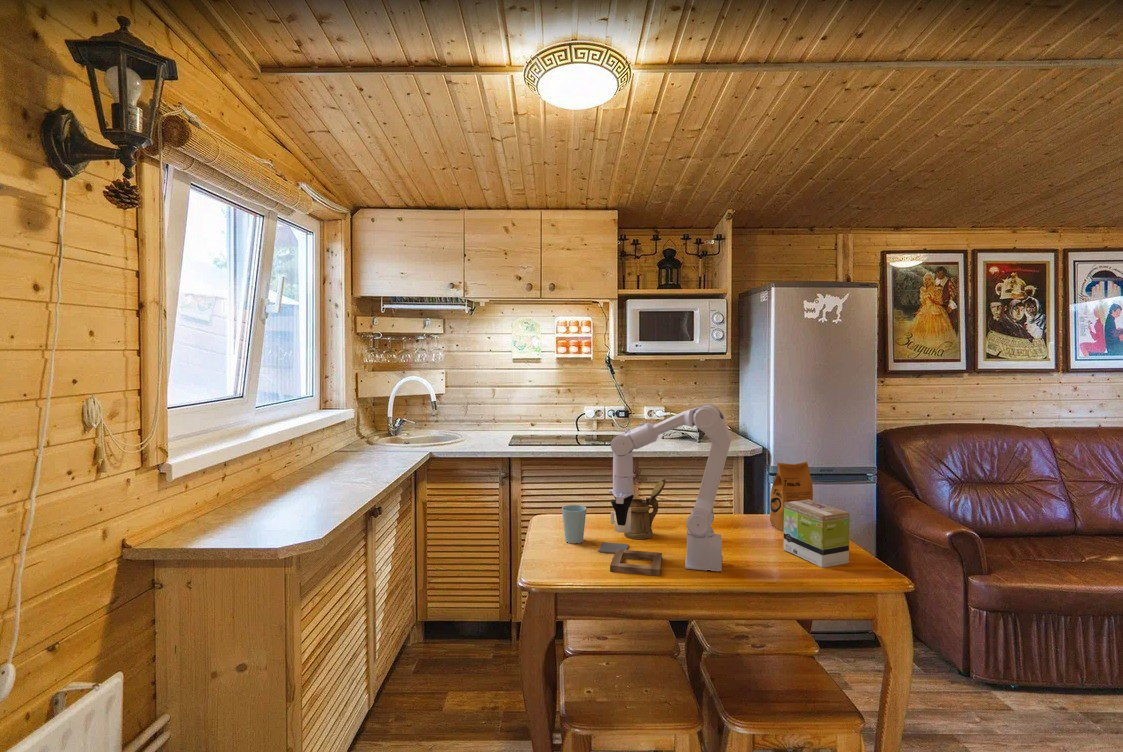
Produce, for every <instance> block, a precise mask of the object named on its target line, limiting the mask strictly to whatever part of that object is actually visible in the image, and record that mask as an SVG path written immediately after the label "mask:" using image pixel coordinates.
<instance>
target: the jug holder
mask: <svg viewBox="0 0 1123 752" xmlns="http://www.w3.org/2000/svg"><path fill="white" fill-rule="evenodd" d="M630 558H632V560H642V559H647V560H646V561H652V563H651V565H644V564H642V565H641V564H633V563H632V564H631V563H630V564H629V563H622V562H623V560H624V559H630ZM662 560H663V552H657V551H643V550H633V549H631V550H630V549H627V550H620V549H616V552H615V554H613V557H612V560H611V562H610V565H609V572H610V573H611V572H612V573H622V574H623V573H625V574H634V575H635V574H636V575H645V576H655V577H656V576H657V577H659V576H660V573H661V568H662Z"/></svg>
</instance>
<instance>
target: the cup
mask: <svg viewBox="0 0 1123 752" xmlns="http://www.w3.org/2000/svg"><path fill="white" fill-rule="evenodd" d="M561 512H562V522H563V530H564V531H563V532H564V540H565V542H566V543H567V542H568V544H570V543H578V544H582V543H583V541H584V534H585V525H586V524H585V523H586V516H587V507H586V506H584V505H580V504H568V505H564V506H562V507H561ZM581 542H582V543H581Z"/></svg>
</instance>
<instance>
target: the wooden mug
mask: <svg viewBox="0 0 1123 752" xmlns="http://www.w3.org/2000/svg"><path fill="white" fill-rule="evenodd" d="M666 482H667V481H666V478H663V479H662V480H660V481H659V482H658V481H657V483H656V484H655V486H654V487H653V489H652V490H651V494H650V495H651V496H649V497H646V498H645V499H644V498H633V499H632V501H631V504H630V508H631V531H630V532H627V533H623V535H624V536H625V537H626V536H627V537H626V538H628V537H629V539H631V538H633V539H632V540H646V539H645V538H648V539H650V538H652V537H653V533H654V532H653V528H652V526H653V522H654V519H655V517H656V516H657V514H658V511H659V501H658V499H657V497H658V496H659V495H660V494H661V492H662V491H663V490H664V488H665V485H666ZM650 506H651V507H652V511H651V512H650V510H651V507H650ZM649 537H650V538H649Z"/></svg>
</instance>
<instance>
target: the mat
mask: <svg viewBox="0 0 1123 752" xmlns="http://www.w3.org/2000/svg"><path fill="white" fill-rule="evenodd" d="M629 545H630V544H629V543H619V542H607V541H606V542H605V541H602V542H601V544H600V546H599V548H598V549H597V550H598V551H597V553H598V552H600V554H609V553H613V555H614V554H615V552H616V549H620V550H628V549H627V548H629Z"/></svg>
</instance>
